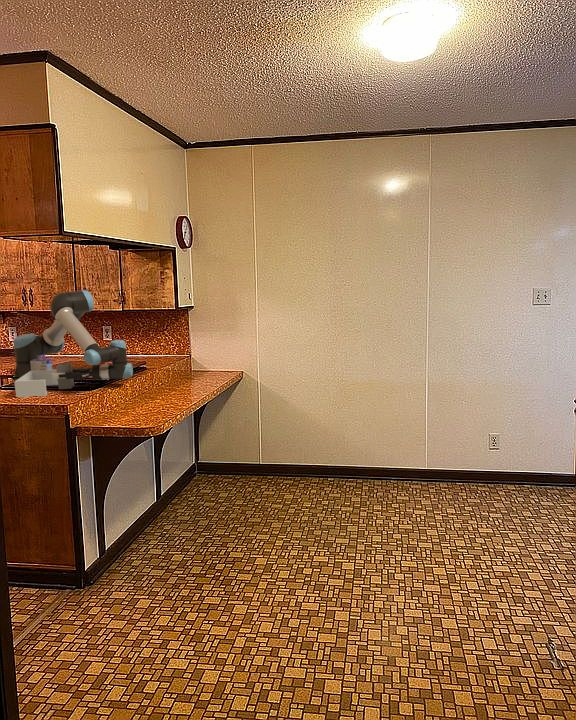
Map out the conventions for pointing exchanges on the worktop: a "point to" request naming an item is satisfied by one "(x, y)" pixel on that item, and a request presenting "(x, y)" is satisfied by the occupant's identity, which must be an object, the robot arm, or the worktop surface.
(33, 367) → the ink cartridge box
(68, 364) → the dark grey block
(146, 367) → the worktop surface
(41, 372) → the open side box
